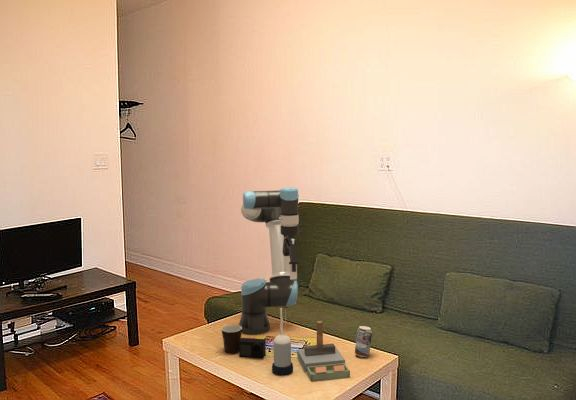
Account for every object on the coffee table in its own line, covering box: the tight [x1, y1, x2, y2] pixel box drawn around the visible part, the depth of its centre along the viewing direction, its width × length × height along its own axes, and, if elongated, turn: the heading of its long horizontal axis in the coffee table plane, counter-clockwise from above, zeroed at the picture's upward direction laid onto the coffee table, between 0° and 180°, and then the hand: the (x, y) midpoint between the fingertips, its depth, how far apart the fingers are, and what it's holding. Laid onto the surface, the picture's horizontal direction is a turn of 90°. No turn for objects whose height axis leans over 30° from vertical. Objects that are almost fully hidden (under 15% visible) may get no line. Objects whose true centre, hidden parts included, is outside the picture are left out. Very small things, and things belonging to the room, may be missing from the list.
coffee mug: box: [221, 324, 243, 355], centre depth 218 cm, size 12×9×10 cm
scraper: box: [303, 320, 336, 356], centre depth 204 cm, size 3×12×13 cm, turn 101°
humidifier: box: [271, 307, 294, 377], centre depth 196 cm, size 8×8×25 cm
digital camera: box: [238, 337, 267, 360], centre depth 211 cm, size 10×5×7 cm, turn 79°
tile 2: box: [332, 365, 345, 372], centre depth 193 cm, size 4×4×2 cm
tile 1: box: [314, 366, 327, 374], centre depth 191 cm, size 4×4×2 cm
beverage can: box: [354, 325, 373, 358], centre depth 210 cm, size 6×7×12 cm
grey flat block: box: [296, 346, 346, 374], centre depth 204 cm, size 14×16×4 cm
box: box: [306, 362, 351, 382], centre depth 193 cm, size 7×15×2 cm, turn 101°
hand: (290, 275), depth 213 cm, fingers open, 13 cm apart
